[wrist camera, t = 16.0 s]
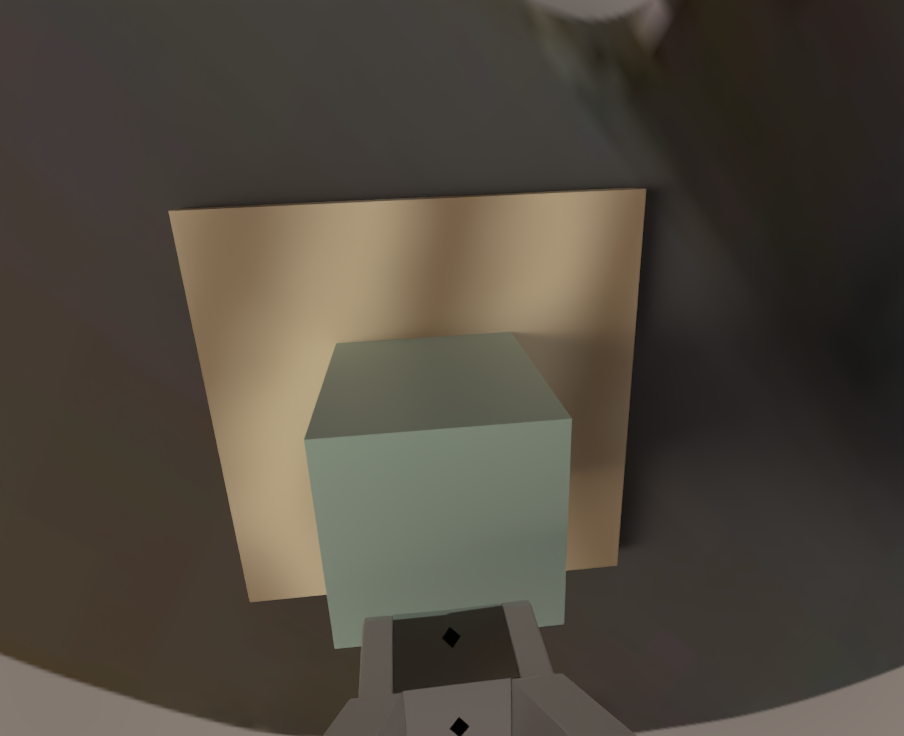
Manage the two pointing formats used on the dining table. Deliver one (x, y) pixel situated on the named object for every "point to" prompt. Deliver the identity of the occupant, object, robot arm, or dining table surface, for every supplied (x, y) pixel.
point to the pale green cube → (438, 480)
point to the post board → (406, 336)
